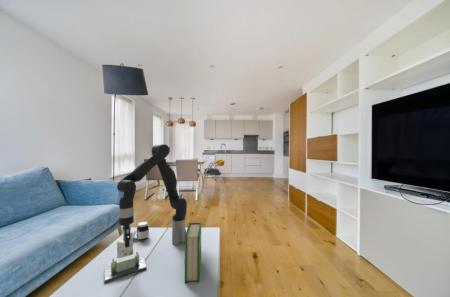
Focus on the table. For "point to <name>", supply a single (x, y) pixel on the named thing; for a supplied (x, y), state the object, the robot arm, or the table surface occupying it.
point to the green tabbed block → (124, 263)
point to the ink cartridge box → (124, 248)
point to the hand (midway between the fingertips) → (126, 243)
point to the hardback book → (193, 252)
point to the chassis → (116, 275)
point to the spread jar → (142, 231)
